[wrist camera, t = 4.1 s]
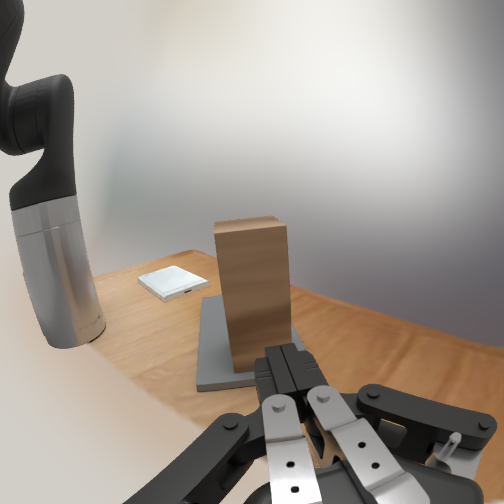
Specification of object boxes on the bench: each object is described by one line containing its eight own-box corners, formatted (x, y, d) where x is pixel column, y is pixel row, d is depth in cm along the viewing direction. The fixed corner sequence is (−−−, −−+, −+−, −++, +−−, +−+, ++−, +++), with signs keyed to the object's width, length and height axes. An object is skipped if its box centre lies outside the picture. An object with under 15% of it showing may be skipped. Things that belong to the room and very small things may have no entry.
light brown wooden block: (292, 364, 23) (286, 225, 20) (234, 373, 22) (214, 233, 19) (280, 335, 28) (272, 215, 24) (230, 342, 27) (214, 222, 24)
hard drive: (136, 276, 49) (163, 295, 39) (175, 264, 54) (209, 279, 44) (138, 285, 49) (165, 306, 40) (176, 272, 54) (211, 288, 45)
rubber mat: (314, 374, 22) (315, 367, 22) (198, 391, 21) (196, 384, 21) (274, 293, 39) (274, 288, 39) (203, 302, 39) (202, 297, 38)
